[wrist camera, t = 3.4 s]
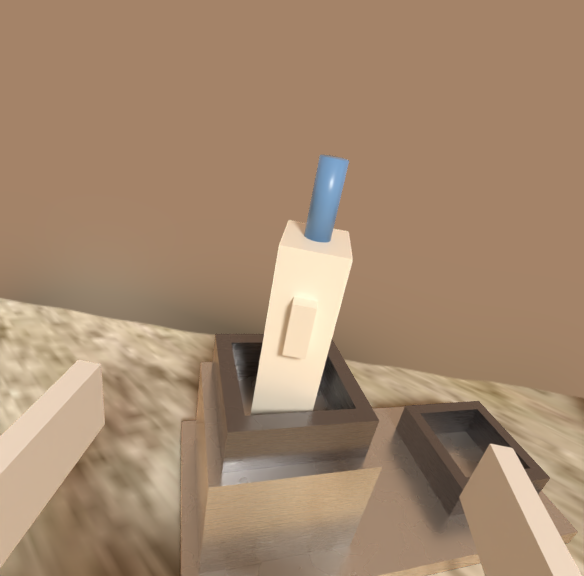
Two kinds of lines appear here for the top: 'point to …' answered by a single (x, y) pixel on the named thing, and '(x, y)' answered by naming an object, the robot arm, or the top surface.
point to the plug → (304, 300)
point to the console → (329, 478)
